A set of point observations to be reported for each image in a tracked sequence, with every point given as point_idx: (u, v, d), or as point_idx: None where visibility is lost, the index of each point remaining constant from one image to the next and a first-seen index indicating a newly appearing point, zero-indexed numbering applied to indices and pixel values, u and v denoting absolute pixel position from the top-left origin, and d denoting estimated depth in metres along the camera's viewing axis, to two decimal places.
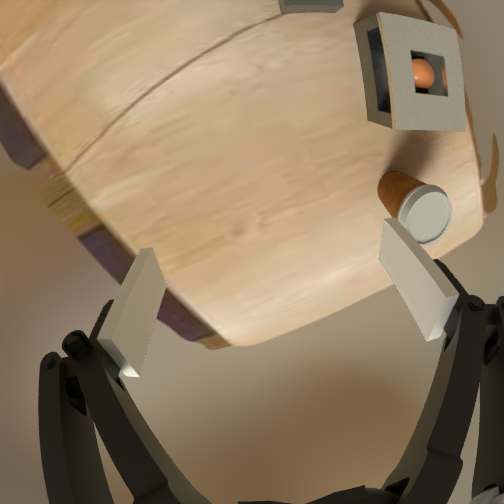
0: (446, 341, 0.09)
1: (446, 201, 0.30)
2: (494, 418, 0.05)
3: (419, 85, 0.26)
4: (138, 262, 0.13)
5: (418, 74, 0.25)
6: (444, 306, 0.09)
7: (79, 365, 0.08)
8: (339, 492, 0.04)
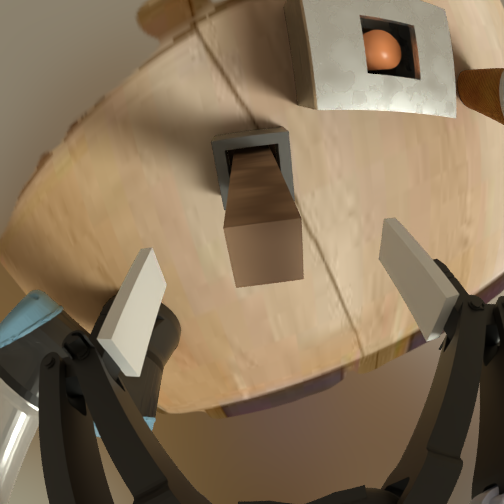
0: (446, 341, 0.09)
1: None
2: (494, 418, 0.05)
3: (399, 58, 0.18)
4: (138, 262, 0.13)
5: (386, 55, 0.18)
6: (444, 306, 0.09)
7: (79, 365, 0.08)
8: (339, 492, 0.04)
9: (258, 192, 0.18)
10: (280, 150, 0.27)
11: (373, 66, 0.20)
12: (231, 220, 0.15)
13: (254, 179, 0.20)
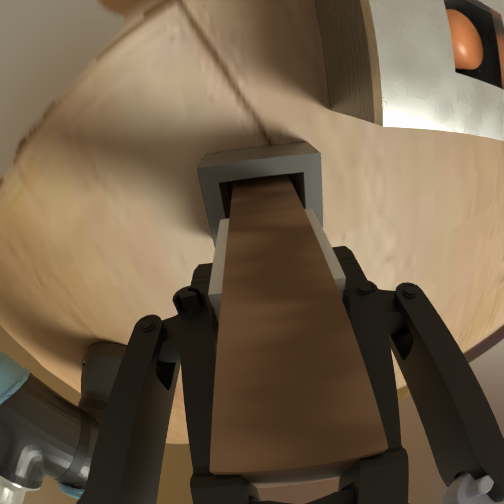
0: None
1: None
2: (434, 412, 0.06)
3: (481, 56, 0.09)
4: (224, 230, 0.15)
5: (466, 49, 0.09)
6: None
7: (185, 321, 0.10)
8: (339, 492, 0.04)
9: (285, 324, 0.08)
10: (306, 182, 0.18)
11: None
12: (227, 443, 0.05)
13: (272, 270, 0.10)
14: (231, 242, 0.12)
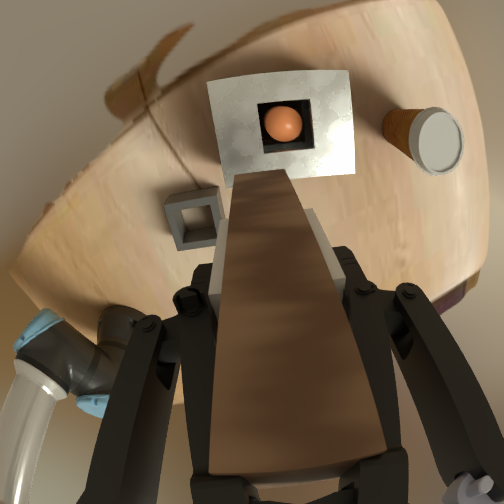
0: None
1: (428, 120, 0.25)
2: (434, 412, 0.06)
3: (300, 129, 0.30)
4: (224, 230, 0.15)
5: (287, 129, 0.30)
6: None
7: (185, 321, 0.10)
8: (339, 492, 0.04)
9: (284, 326, 0.08)
10: (212, 209, 0.39)
11: None
12: (226, 444, 0.05)
13: (271, 272, 0.10)
14: (230, 243, 0.12)
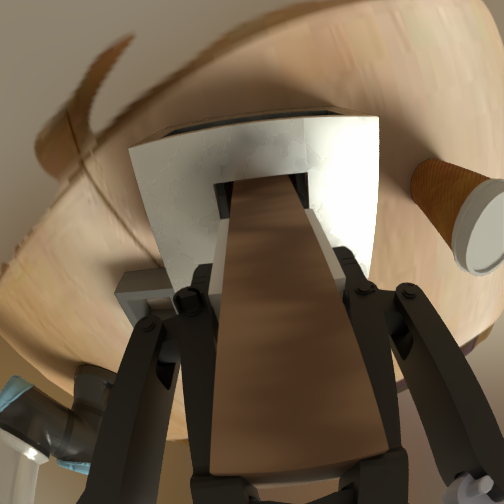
0: None
1: None
2: (434, 412, 0.06)
3: None
4: (224, 230, 0.15)
5: None
6: None
7: (185, 321, 0.10)
8: (339, 492, 0.04)
9: (285, 325, 0.08)
10: (173, 302, 0.29)
11: None
12: (227, 444, 0.05)
13: (272, 271, 0.10)
14: (231, 242, 0.12)
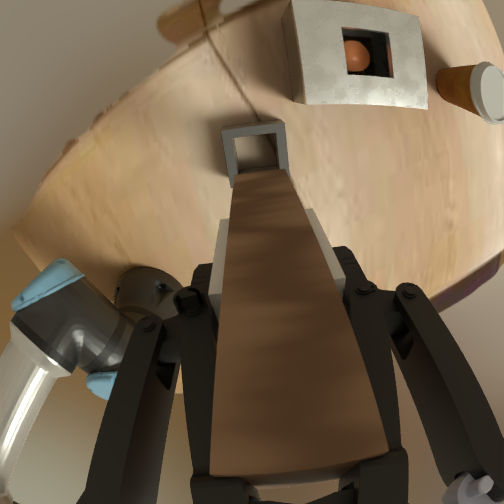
0: None
1: (486, 70, 0.18)
2: (434, 412, 0.06)
3: (368, 62, 0.26)
4: (224, 230, 0.15)
5: (357, 60, 0.26)
6: None
7: (185, 321, 0.10)
8: (339, 492, 0.04)
9: (285, 326, 0.08)
10: (277, 138, 0.32)
11: (347, 69, 0.27)
12: (227, 446, 0.05)
13: (272, 272, 0.10)
14: (231, 243, 0.12)
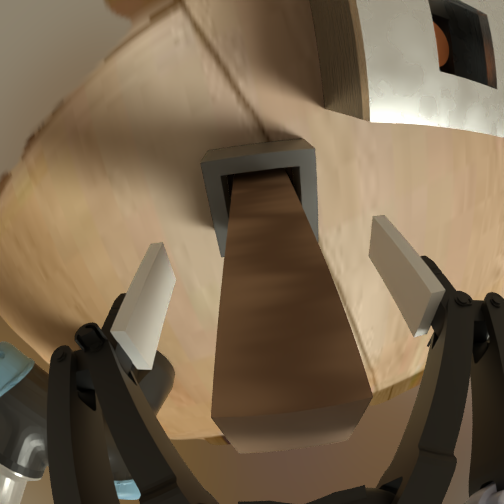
0: (434, 338, 0.09)
1: None
2: (487, 416, 0.05)
3: (446, 55, 0.12)
4: (149, 256, 0.14)
5: None
6: (430, 302, 0.09)
7: (91, 358, 0.08)
8: (339, 492, 0.04)
9: (279, 292, 0.09)
10: (302, 176, 0.19)
11: None
12: (227, 391, 0.06)
13: (268, 249, 0.12)
14: (232, 227, 0.14)
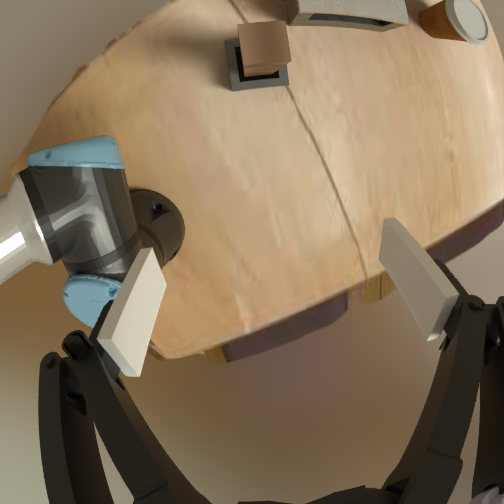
0: (446, 341, 0.09)
1: None
2: (494, 418, 0.05)
3: None
4: (138, 262, 0.13)
5: None
6: (444, 306, 0.09)
7: (79, 365, 0.08)
8: (339, 492, 0.04)
9: None
10: None
11: None
12: None
13: None
14: None
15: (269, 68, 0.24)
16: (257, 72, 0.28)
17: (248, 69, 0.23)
